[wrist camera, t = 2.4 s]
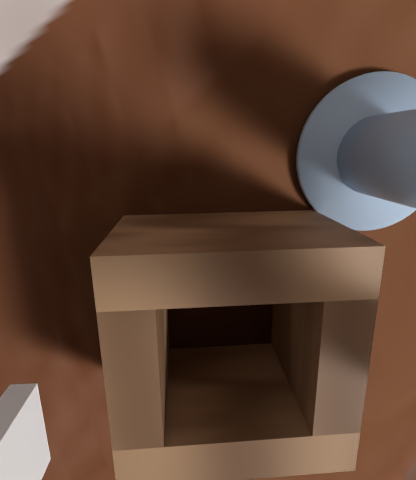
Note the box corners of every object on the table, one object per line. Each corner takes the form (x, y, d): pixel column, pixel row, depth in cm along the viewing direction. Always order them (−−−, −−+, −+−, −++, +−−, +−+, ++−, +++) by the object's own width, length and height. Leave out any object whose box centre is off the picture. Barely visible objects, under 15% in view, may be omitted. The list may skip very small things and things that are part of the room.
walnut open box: (137, 379, 18) (116, 490, 12) (123, 215, 16) (89, 256, 10) (301, 370, 19) (355, 470, 13) (313, 210, 16) (385, 246, 10)
